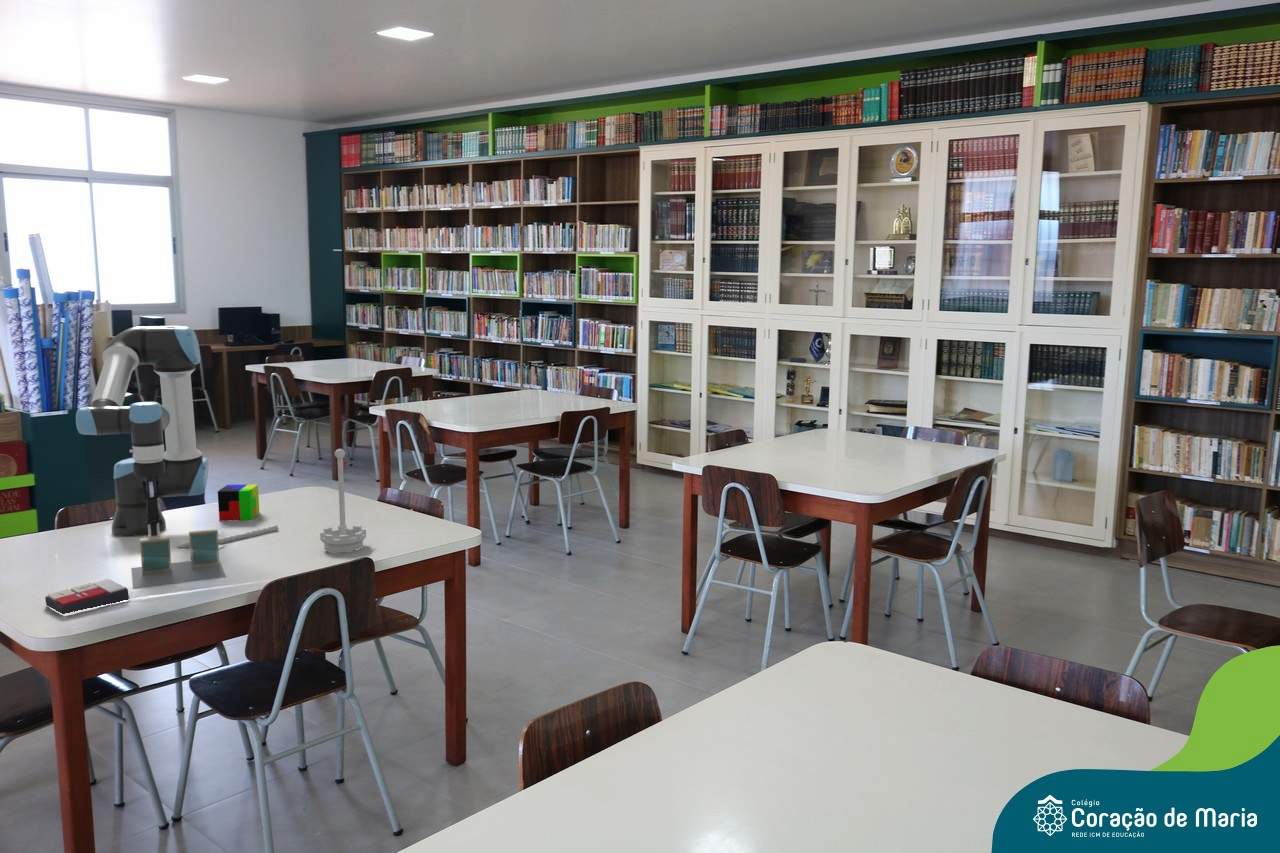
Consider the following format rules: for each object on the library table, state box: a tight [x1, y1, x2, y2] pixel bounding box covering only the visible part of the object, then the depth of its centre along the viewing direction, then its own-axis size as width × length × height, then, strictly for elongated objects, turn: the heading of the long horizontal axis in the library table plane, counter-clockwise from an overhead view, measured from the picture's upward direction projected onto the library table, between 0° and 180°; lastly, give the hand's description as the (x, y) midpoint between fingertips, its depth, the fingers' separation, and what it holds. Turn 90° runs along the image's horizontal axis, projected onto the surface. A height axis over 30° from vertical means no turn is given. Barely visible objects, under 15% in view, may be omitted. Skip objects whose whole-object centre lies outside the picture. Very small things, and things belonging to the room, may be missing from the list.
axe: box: [176, 524, 279, 550], centre depth 289 cm, size 30×14×2 cm, turn 145°
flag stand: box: [319, 448, 367, 554], centre depth 281 cm, size 13×13×30 cm
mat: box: [130, 559, 227, 590], centre depth 256 cm, size 20×22×1 cm
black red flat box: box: [44, 578, 130, 614], centre depth 232 cm, size 11×4×15 cm
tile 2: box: [188, 528, 220, 568], centre depth 261 cm, size 2×7×10 cm, turn 119°
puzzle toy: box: [217, 483, 260, 522], centre depth 317 cm, size 10×10×10 cm
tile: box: [139, 534, 172, 575], centre depth 254 cm, size 2×7×10 cm, turn 119°
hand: (154, 546), depth 255 cm, fingers closed
